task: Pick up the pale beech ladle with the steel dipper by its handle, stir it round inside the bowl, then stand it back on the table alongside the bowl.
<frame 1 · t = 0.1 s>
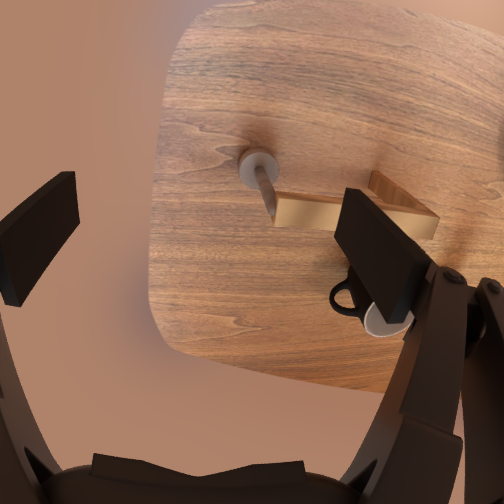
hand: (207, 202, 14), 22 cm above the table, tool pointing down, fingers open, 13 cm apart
mug: (357, 270, 46), on the table
ladle: (256, 165, 36), on the table
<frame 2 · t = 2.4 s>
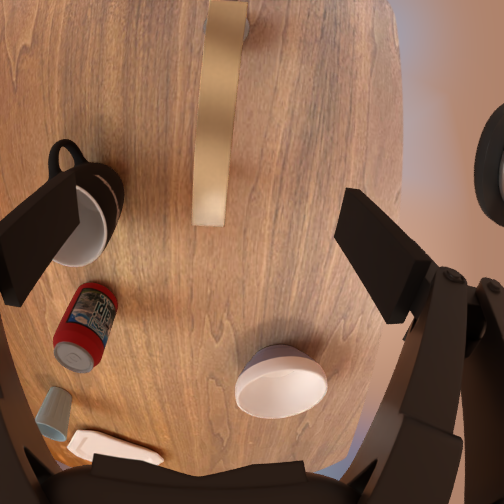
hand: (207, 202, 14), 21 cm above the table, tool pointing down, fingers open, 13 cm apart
beverage can: (98, 296, 42), on the table
bowl: (275, 359, 52), on the table
mug: (95, 177, 34), on the table
plate: (113, 449, 70), on the table
ladle: (226, 31, 27), on the table
cup: (61, 393, 55), on the table
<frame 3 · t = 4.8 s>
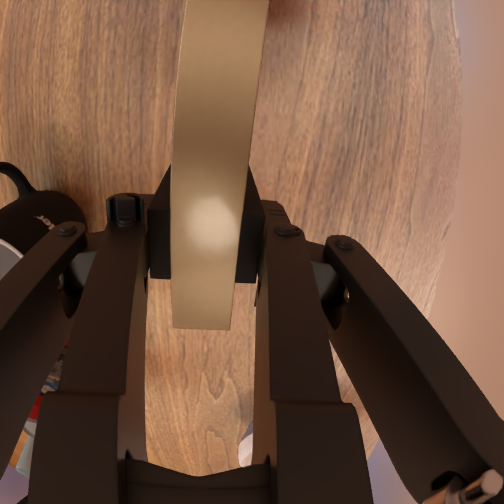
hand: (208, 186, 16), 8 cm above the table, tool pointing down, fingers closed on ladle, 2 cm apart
beverage can: (71, 349, 32), on the table
bowl: (284, 412, 42), on the table
mug: (51, 208, 23), on the table
cup: (44, 433, 44), on the table
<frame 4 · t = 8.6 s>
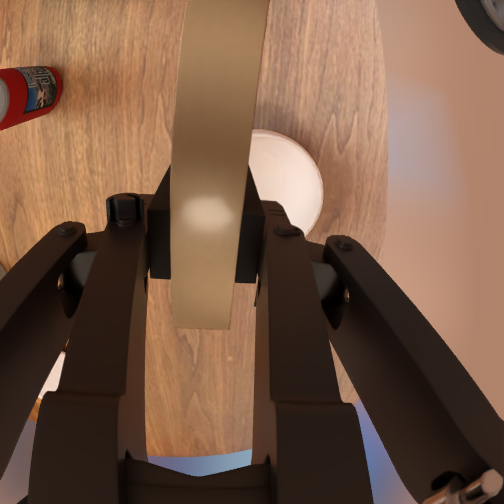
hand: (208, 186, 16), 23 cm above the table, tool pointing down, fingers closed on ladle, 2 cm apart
beverage can: (44, 90, 30), on the table
bowl: (251, 177, 40), on the table
plate: (62, 376, 58), on the table
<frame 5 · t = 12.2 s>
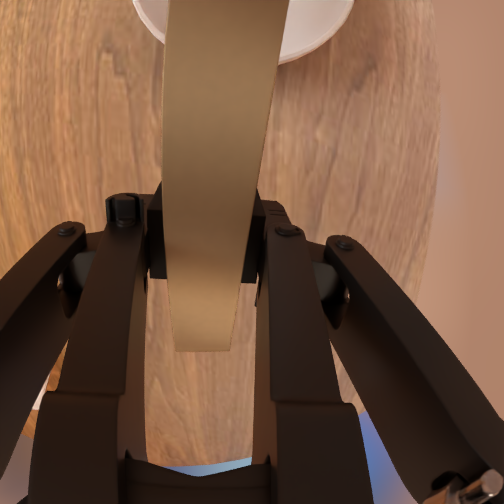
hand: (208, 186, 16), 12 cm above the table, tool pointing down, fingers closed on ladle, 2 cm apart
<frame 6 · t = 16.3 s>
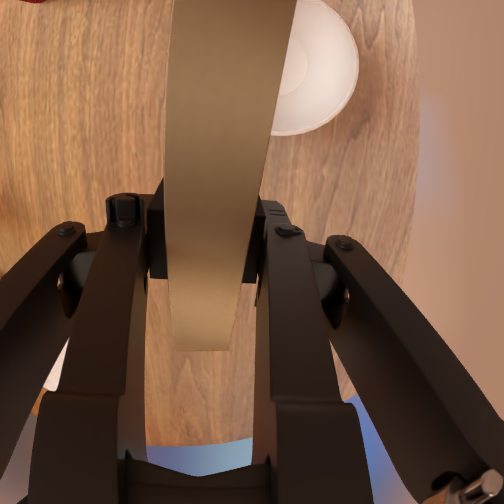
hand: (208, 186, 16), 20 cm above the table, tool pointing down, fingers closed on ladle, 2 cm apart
bowl: (269, 63, 30), on the table
plate: (31, 337, 47), on the table
when the fingers open (7 cm above the table, at t = 19.9 s): ladle drops 4 cm, on the table.
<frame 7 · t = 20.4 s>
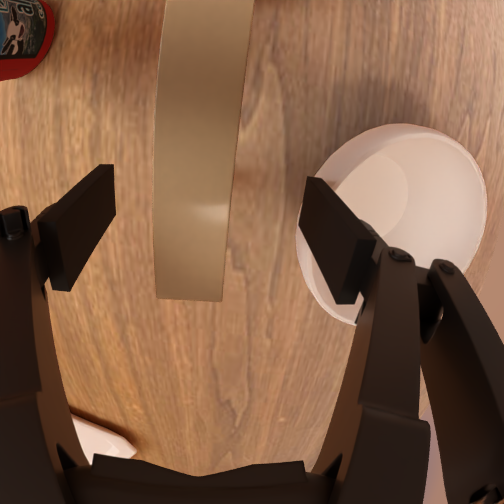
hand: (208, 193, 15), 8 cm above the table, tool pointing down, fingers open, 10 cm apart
beverage can: (26, 38, 15), on the table
bowl: (363, 196, 25), on the table, touching gripper
plate: (62, 430, 42), on the table
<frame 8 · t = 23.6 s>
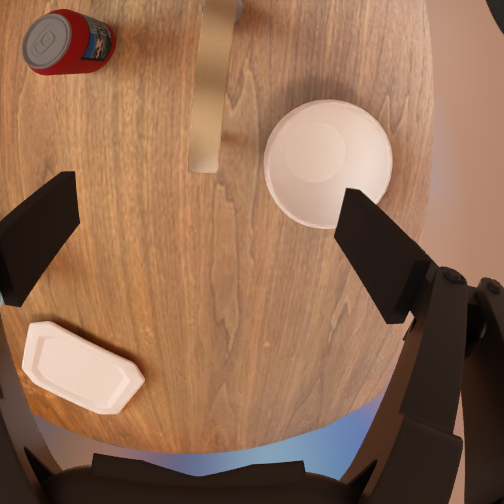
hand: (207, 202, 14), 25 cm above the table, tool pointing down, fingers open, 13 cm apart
beverage can: (92, 47, 28), on the table
bowl: (314, 151, 38), on the table
plate: (79, 368, 56), on the table
ladle: (222, 13, 28), on the table
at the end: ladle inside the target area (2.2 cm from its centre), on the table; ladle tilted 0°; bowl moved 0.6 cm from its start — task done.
